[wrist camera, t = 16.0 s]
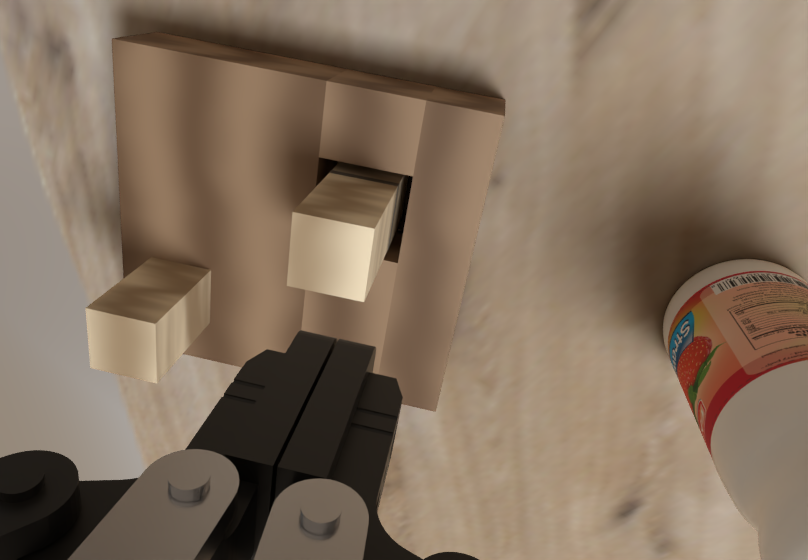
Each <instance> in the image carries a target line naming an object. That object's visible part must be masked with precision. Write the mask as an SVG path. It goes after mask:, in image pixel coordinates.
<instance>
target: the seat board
mask: <svg viewBox="0 0 808 560" xmlns="http://www.w3.org/2000/svg"><path fill="white" fill-rule="evenodd" d="M112 53H113V73H114V93H115V113H116V133H117V154H118V174H119V194H120V214H121V234H122V254H123V275H124V279H123V280H121V281H120V282H119V283H117V284H116V285H115V286H114V287H112V288H111V289H110V290H108V291H107V292H106V293H104V294H103V295H102V296H101V297H99V298H98V299H97V300H95V301H94V302H93V303H92V304H90V305H89V306H88V307H86V319H87V331H88V342H89V354H90V367H91V368H93V369H97V370H102V371H106V372H110V373H114V374H119V375H123V376H127V377H131V378H136V379H140V380H144V381H149V382H153V383H158V382H159V380H160V379H161V378H162V377H163V376H164V375H165V374H166V372H167V371H168V370H169V369H170V368H171V367H172V366H173V364H174V363H175V362H176V361H177V360H178V359H179V358H180V356H181V355H182V354H186V355H191V356H195V357H199V358H204V359H208V360H212V361H217V362H221V363H225V364H230V365H234V366H239V367H243V366H244V364H245V363H246V361H248V360H250V359H251V358H253V357H255V356H256V355H258V354H260V353H261V352H263V351H265V350H266V349H269V350H273V351H277V352H282V353H286V351H287V349H288V348H289V346H290V344H291V343H292V341H293V339H294V338H295V336H296V335H297V333H298V332H299V331H300V330H302V331H307V332H311V333H316V334H320V335H325V336H329V337H334V338H337V340H339V339H343V340H348V341H352V342H357V343H361V344H366V345H370V346H375V347H376V355H375V361H374V367H373V373H375V374H380V375H384V376H388V377H393V378H396V379H397V382H398V385H399V388H400V391H401V393H402V396H403V399H402V404H404V405H409V406H413V407H417V408H422V409H426V410H430V411H435V412H436V408H437V404H438V399H439V395H440V391H441V387H442V382H443V378H444V374H445V369H446V365H447V361H448V357H449V352H450V348H451V344H452V340H453V335H454V331H455V327H456V322H457V318H458V314H459V310H460V305H461V301H462V297H463V293H464V288H465V284H466V280H467V276H468V271H469V267H470V263H471V258H472V254H473V250H474V246H475V241H476V237H477V233H478V229H479V224H480V220H481V216H482V212H483V207H484V203H485V199H486V194H487V190H488V186H489V182H490V177H491V173H492V169H493V165H494V160H495V156H496V152H497V148H498V143H499V139H500V135H501V130H502V126H503V122H504V118H505V100H504V99H499V98H493V97H488V96H483V95H478V94H473V93H468V92H463V91H458V90H452V89H447V88H442V87H437V86H432V85H427V84H422V83H417V82H411V81H406V80H401V79H396V78H391V77H386V76H381V75H376V74H370V73H365V72H360V71H355V70H350V69H345V68H340V67H335V66H329V65H324V64H319V63H314V62H309V61H304V60H299V59H293V58H288V57H283V56H278V55H273V54H268V53H263V52H258V51H252V50H247V49H242V48H237V47H232V46H227V45H222V44H217V43H211V42H206V41H201V40H196V39H191V38H186V37H181V36H176V35H170V34H165V33H160V32H154V33H147V34H140V35H133V36H127V37H120V38H113V39H112ZM337 161H340V162H345V163H350V164H355V165H359V166H364V167H369V168H374V169H379V170H384V171H389V172H394V173H398V174H403V175H408V176H413V180H412V185H411V191H410V197H409V202H408V208H407V214H406V220H405V225H404V231H403V232H401V231H397V230H396V233H395V235H394V237H393V239H392V241H391V244H390V246H389V249H388V250H387V252H386V255H385V257H384V259H383V261H382V264H381V266H380V268H379V270H378V272H377V275H376V277H375V279H374V281H373V283H372V286H371V288H370V290H369V292H368V295H367V297H366V299H365V301H364V302H361V301H356V300H351V299H346V298H342V297H337V296H332V295H328V294H323V293H318V292H314V291H309V290H304V289H300V288H295V287H290V286H287V276H288V264H289V251H290V238H291V226H292V213H293V211H294V210H295V209H296V208H297V207H298V206H299V205H300V203H301V202H302V201H303V200H304V199H305V198H306V197H307V196H308V195H309V194H310V193H311V192H312V191H313V190H314V189H315V187H316V186H317V185H318V184H319V183H320V182H321V181H322V180H323V179H324V178H325V177H326V176H327V175H328V174H329V172H330V171H331V170H332V169H333V168H334V167H335V166H336V165H337Z"/></svg>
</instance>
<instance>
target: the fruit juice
mask: <svg viewBox="0 0 808 560" xmlns="http://www.w3.org/2000/svg"><path fill="white" fill-rule="evenodd" d="M663 338H664V343H665V348H666V351H667V353H668V356H669V358H670V361H671V363H672V365H673V368H674V370H675V372H676V375H677V377H678V379H679V382H680V384H681V386H682V389H683V391H684V393H685V396H686V398H687V401H688V403H689V405H690V408H691V410H692V412H693V415H694V417H695V419H696V422H697V424H698V426H699V429H700V431H701V433H702V436H703V438H704V440H705V443H706V445H707V447H708V450H709V452H710V454H711V457H712V460H713V462H714V465H715V467H716V470H717V472H718V475H719V477H720V479H721V481H722V483H723V485H724V487H725V489H726V490H727V492H728V494H729V496H730V498H731V500H732V501H733V503H734V505H735V506H736V508H737V509H738V511H739V512H740V513H741V515H742V516H743V517H744V519H745V520H746V521H747V522H748V523H749V524H750V525H751V526H752V527H753V528H754V529H755V530H756V531H757V532H758V545H759V552H760V557H761V560H808V283H807V282H806V281H805V280H804V279H803V278H801V277H800V276H798V275H797V274H795V273H794V272H792V271H791V270H789V269H787V268H785V267H783V266H781V265H778V264H775V263H772V262H768V261H763V260H756V259H739V260H731V261H726V262H722V263H719V264H716V265H713V266H710V267H708V268H706V269H704V270H702V271H700V272H699V273H697V274H695V275H694V276H692V277H691V278H690V279H689V280H687V281H686V282H685V283H684V284H683V285H682V286H681V287H680V288H679V289H678V290H677V292H676V293H675V294H674V296H673V297H672V299H671V301H670V302H669V304H668V307H667V309H666V312H665V316H664V321H663Z"/></svg>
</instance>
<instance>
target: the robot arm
mask: <svg viewBox="0 0 808 560" xmlns="http://www.w3.org/2000/svg"><path fill="white" fill-rule="evenodd" d="M375 355H376V347H375V346H370V345H366V344H361V343H357V342H352V341H348V340H343V339H339V340H337V338H334V337H329V336H325V335H320V334H316V333H311V332H307V331H302V330H300V331H299V332H298V333H297V335H296V336H295V338H294V339H293V341H292V343H291V344H290V346H289V348H288V349H287V351H286V353H282V352H277V351H273V350H269V349H266V350H265V351H263V352H261V353H260V354H258V355H256V356H255V357H253V358H251V359H250V360H248V361H246V363H245V364H244V366H243V367H242V368H241V370H240V371H239V373H238V374H237V376H236V377H235V379H234V382H233V383H231V384H230V386H229V387H228V389H227V390H226V392H225V393H224V397H221V399H220V400H219V402H218V403H217V405H216V406H215V407H214V409H213V410H212V412H211V413H210V415H209V416H208V418H207V419H206V421H205V422H204V423H203V425H202V426H201V428H200V429H199V431H198V432H197V434H196V435H195V436H194V438H193V439H192V441H191V442H190V444H189V445H188V447H187V448H186V449H185V450H181V451H177V452H173V453H170V454H168V455H165V456H163V457H161V458H160V459H158V460H156V461H155V462H154V463H152V464H151V465H150V466H149V467H148V468H147V469H146V470H145V471H144V472H143V473H142V475H141V476H140V477H139V478H134V479H127V480H102V481H79V477H78V470H77V468H76V466H75V464H74V463H73V462H72V461H71V460H70V459H69V458H67V457H65V456H63V455H61V454H59V453H55V452H51V451H40V450H38V451H37V450H34V451H25V452H19V453H15V454H11V455H8V456H5V457H2V458H0V560H423V559H421V558H420V557H418V556H416V555H414V554H413V553H411V552H409V551H408V550H406V549H404V548H403V547H401V546H400V545H398V544H397V543H396V542H395V541H394V540H393V539H392V538H391V537H390V536H389V535H388V534H387V533H386V531H385V530H384V528H383V526H382V525H381V523H380V520H379V518H378V514H377V511H378V507H379V503H380V499H381V495H382V491H383V487H384V483H385V479H386V475H387V471H388V467H389V463H390V459H391V454H392V449H393V444H394V439H395V434H396V429H397V424H398V419H399V414H400V409H401V404H402V399H403V396H402V393H401V391H400V388H399V385H398V382H397V379H396V378H393V377H388V376H384V375H380V374H375V373H373V367H374V361H375ZM424 560H479V559H477V558H475V557H472V556H470V555H467V554H463V553H458V552H442V553H437V554H434V555H431V556H429V557H427V558H425V559H424Z"/></svg>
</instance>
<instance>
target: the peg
mask: <svg viewBox="0 0 808 560" xmlns="http://www.w3.org/2000/svg"><path fill="white" fill-rule="evenodd" d="M407 182H408V175H403V174H398V173H394V172H389V171H384V170H379V169H374V168H369V167H364V166H359V165H355V164H350V163H345V162H339V163H338V164H337V165H336V166H335V167H334V168H333V169H332V170H331V171H330V172H329V174H328V175H327V176H326V177H325V178H324V179H323V180H322V181H321V182H320V183H319V184H318V185H317V186H316V187H315V189H314V190H313V191H312V192H311V193H310V194H309V195H308V196H307V197H306V198H305V199H304V200H303V201H302V202H301V203H300V205H299V206H298V207H297V208H296V209H295V210H294V211H293V213H292V226H291V238H290V251H289V264H288V276H287V286H290V287H295V288H300V289H304V290H309V291H314V292H318V293H323V294H328V295H332V296H337V297H342V298H346V299H351V300H356V301H361V302H364V301H365V299H366V297H367V295H368V292H369V290H370V288H371V286H372V283H373V281H374V279H375V277H376V275H377V272H378V270H379V268H380V266H381V264H382V261H383V259H384V257H385V255H386V252H387V250H388V249H389V246H390V244H391V241H392V239H393V237H394V235H395V233H396V230H397V228H398V226H399V224H400V221H401V218H402V212H403V206H404V200H405V194H406V188H407Z"/></svg>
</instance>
